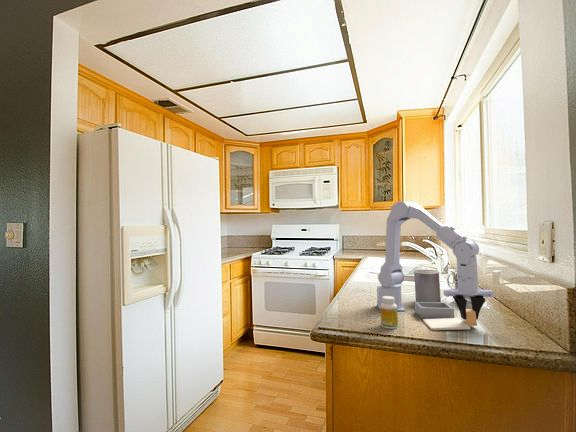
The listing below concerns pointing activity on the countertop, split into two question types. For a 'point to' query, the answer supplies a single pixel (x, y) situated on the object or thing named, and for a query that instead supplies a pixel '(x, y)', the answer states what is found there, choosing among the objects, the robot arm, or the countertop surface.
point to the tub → (434, 310)
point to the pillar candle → (427, 286)
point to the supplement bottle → (389, 313)
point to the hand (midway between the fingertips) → (469, 318)
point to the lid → (453, 322)
